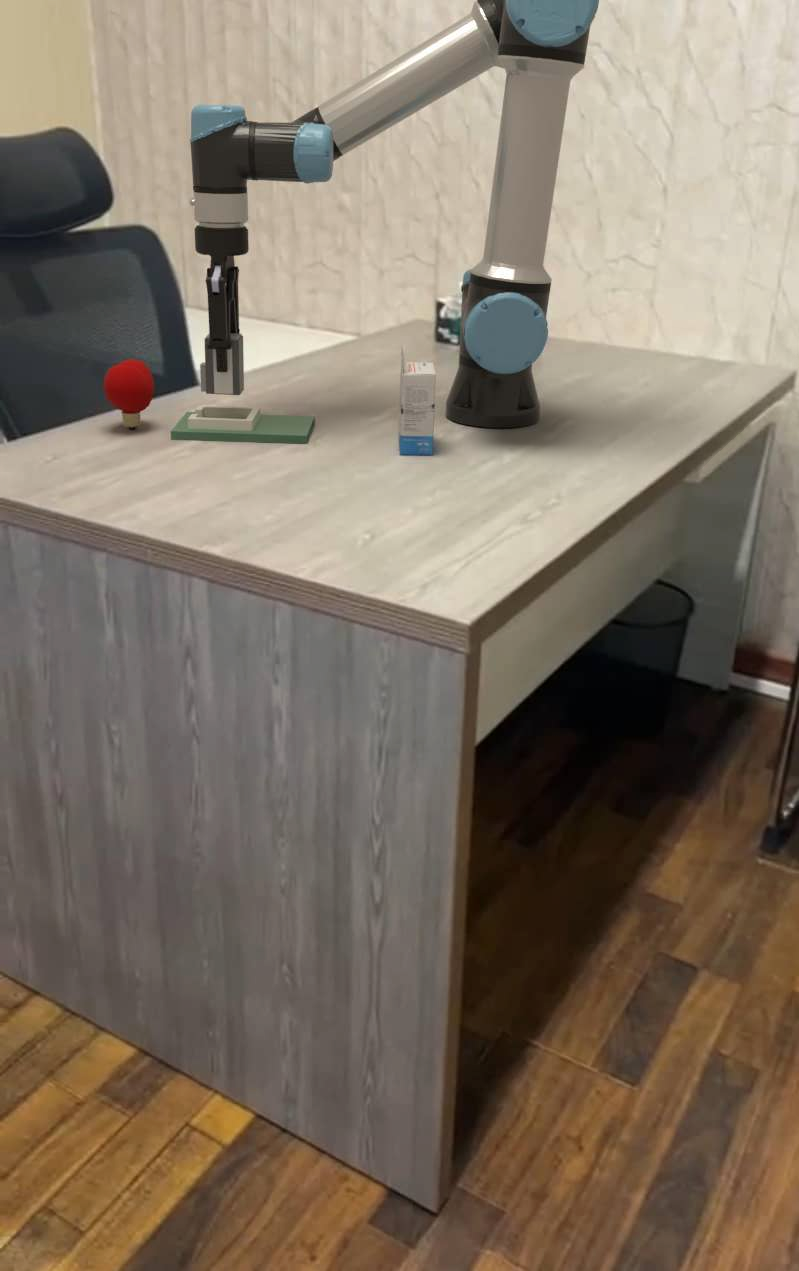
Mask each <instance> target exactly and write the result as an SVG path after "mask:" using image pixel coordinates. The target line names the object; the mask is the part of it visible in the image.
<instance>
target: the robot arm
mask: <svg viewBox="0 0 799 1271" xmlns="http://www.w3.org/2000/svg"><path fill="white" fill-rule="evenodd" d="M599 3H600V0H476V1H475V2H473V6H472V9H471V12H470V13H469V14H467V15H466V16H464V17H462V18H461V19H459V20H458V21H455V23H453V24H451V25H449V26H448V27H446V28H444V29H443V30H441V31H440V32H438V33H436V34H435V35H433V36H432V37H430V38H428V39H426V40H425V41H423V42H422V43H420V44H418V45H417V46H415V47H414V48H412V49H410V50H408V51H407V52H405V53H404V54H402V55H399V57H397V58H396V59H394V60H392V61H390V62H389V63H387V64H385V65H384V66H382V67H380V68H378V70H375V71H374V72H372V73H371V74H369V75H367V76H365V77H364V78H362V79H361V80H359V81H357V82H356V83H354V84H353V85H351V86H349V87H347V88H346V89H344V90H342V91H341V92H339V93H338V94H336V95H334V96H333V97H331V98H330V99H328V100H326V101H325V102H322V103H321V104H320V105H318V106H317V107H315V108H313V109H312V110H309V111H308V112H307V113H305V114H303V115H301V116H300V117H298V118H297V119H295V120H293V121H291V122H258V121H252V120H248V118H247V116H246V111H245V108H244V106H242V105H231V104H230V105H225V104H224V105H223V104H196V105H195V106H194V107H193V108H192V109H191V112H190V139H189V143H190V154H191V172H192V173H191V174H192V175H191V176H192V191H193V198H192V197H191V198H190V199H189V201H188V202H189V205H190V206H193V207H194V208H193V211H194V212H193V213H194V215H193V216H194V217H193V218H194V221H195V222H197V223H199V224H197V225H196V226H195V227H194V242H195V243H194V246H195V252H196V253H198V254H199V255H203V256H209V257H210V266H209V267H207V268H206V278H205V283H206V290H207V291H206V293H207V310H208V313H207V314H208V331H209V332H208V334H209V336H210V341H209V344H210V345H207V349H213V368H214V393H216V394H215V395H224V394H233V361H232V349H230V347H231V344H230V333H238V334H240V333H241V331H240V330H241V329H240V314H239V313H240V310H239V308H240V307H239V273H240V268H239V266H237V265H236V266H235V257H236V256H237V257H238V256H244V255H247V254H248V253H249V251H250V250H249V248H250V246H249V229H248V227H247V226H245V224H246V223H248V222H249V203H248V202H249V199H248V198H249V196H248V185H247V184H248V181H267V182H268V181H269V182H270V181H271V182H287V183H289V182H291V183H303V184H306V185H307V184H311V183H312V184H313V183H326V182H329V181H330V180H331V179H332V177H333V170H334V162H335V161H336V160H338V159H340V158H341V157H343V156H344V155H346V154H347V153H349V152H351V151H352V150H354V149H356V148H357V147H360V146H361V145H363V144H365V143H367V142H368V141H370V140H372V139H373V138H375V137H376V136H378V135H381V134H382V133H383V132H384V131H386V130H389V129H390V128H392V127H393V126H395V125H397V124H399V123H400V122H402V121H403V120H405V119H407V118H409V117H411V116H413V115H414V114H416V113H417V112H419V111H420V110H421V111H422V109H425V107H428V106H430V104H431V105H432V104H433V103H434V102H436V101H438V100H439V99H441V98H443V97H445V96H446V95H448V94H449V93H451V92H453V91H455V90H456V89H458V88H459V87H461V86H463V85H465V84H467V83H468V82H470V81H471V80H473V79H475V78H476V77H478V76H480V75H482V74H483V73H485V72H487V71H489V70H490V69H491V68H494V67H497V68H500V69H504V70H505V74H506V77H505V85H504V91H503V100H502V106H501V114H500V115H501V116H500V121H499V122H500V123H499V132H498V138H497V147H496V155H495V161H494V162H495V163H494V170H493V177H492V187H491V195H490V200H489V201H490V203H489V210H488V218H487V226H486V233H485V242H484V247H483V248H484V250H483V257H482V259H481V260H480V262H478V263H477V264H476V265H475V266H473V267H472V268H471V269H468V270H466V271H465V272H464V274H463V276H462V284H461V286H460V291H461V306H460V307H461V311H460V328H459V329H460V332H459V333H460V334H459V357H458V368H457V372H456V374H455V377H454V380H453V382H452V384H451V387H450V390H449V393H448V396H447V398H446V401H445V402H446V403H445V416H446V417H448V418H447V419H449V420H451V421H453V422H456V423H458V424H461V425H466V426H473V427H479V428H480V427H481V428H493V429H494V428H497V429H498V428H500V429H506V428H509V429H510V428H520V427H526V426H530V425H533V424H535V423H537V422H539V420H540V413H541V412H540V410H541V405H540V400H539V397H538V392H537V391H538V390H537V388H536V384H535V379H534V375H533V364H534V363H535V362H536V361H537V360H538V359H539V357H540V356H541V355H542V354H543V351H544V348H545V346H546V344H547V340H548V337H549V329H548V328H549V327H548V323H549V322H548V321H547V313H548V309H549V308H548V307H549V300H550V294H551V287H552V282H553V281H552V277H551V276H550V275H549V273H548V271H547V270H546V268H545V266H544V262H545V256H546V247H547V241H548V236H549V234H548V233H549V226H550V221H551V214H552V208H553V207H552V206H553V201H554V195H555V194H554V193H555V186H556V180H557V174H558V173H557V172H558V167H559V161H560V155H561V154H560V152H561V146H562V139H563V135H564V134H563V133H564V126H565V120H566V113H567V107H568V106H567V105H568V98H569V92H570V85H571V81H572V79H573V78H574V77H575V76H576V75H578V73H579V72H581V71H582V70H583V69H584V68H585V61H586V55H587V50H588V44H589V37H590V30H591V25H592V23H593V21H594V19H595V18H596V14H597V12H598V8H599ZM217 338H218V339H217Z"/></svg>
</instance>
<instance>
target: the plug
mask: <svg viewBox="0 0 799 1271" xmlns="http://www.w3.org/2000/svg"><path fill="white" fill-rule="evenodd" d="M217 339H218V338H217ZM209 341H210V336H209V333H208V334H207V335H206V336H205V338H204V362H201V363H200V366H199V370H200V374H199V376H200V392H202V393H203V392H205V393H206V394H207V395H210V394H211V395H217V394H216V393H214V368H213V349H207V345H210V344H209ZM230 344H231V347H230V349H232V361H233V394H223V395H226V396H227V395H231V396H240V395H241V394H242V393H243V391H244V390H245V376H244V374H245V369H244V368H245V367H244V366H245V364H244V358H245V357H244V335H243V334H242V333H239V334H238V333H230Z"/></svg>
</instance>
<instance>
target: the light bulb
mask: <svg viewBox="0 0 799 1271" xmlns="http://www.w3.org/2000/svg"><path fill="white" fill-rule="evenodd" d="M103 391H104V395H105V397H106V400H107V401H108V403H109V404H111V405H112V406H113V407H114V408H116V409H117V410H119V411H121V415H122V416H121V417H122V418H121V419H122V425H123V426H125V428H127V429H129V430H132V431H133V430H135V429H137V427H139V426H140V425H141V421H142V420H141V412H143V411H144V410H146V409H147V408H149V406H150V404H151V402H152V399H153V397H154V391H155V380H154V376H153V374H152V372H151V370H150V368H149V367H148V366H147V365H146V364H145V362H143V361H141V360H138V359H127V360H126V359H125V360H123V361H121V362H120V363H119V364H115V365H113V366H111V367H110V368H109V369H108V371H107V372H106V374H105V377H104V380H103Z"/></svg>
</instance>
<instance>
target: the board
mask: <svg viewBox="0 0 799 1271" xmlns="http://www.w3.org/2000/svg"><path fill="white" fill-rule="evenodd" d="M315 425H316V416H315V415H295V414H293V415H292V414H264V413H261V407H260V406H258V407H257V406H234V405H233V406H231V405H229V406H227V405H204V404H203V405H198V406H197V407H196V408H195V409H194V411H186V413H184V415H183V416H182V417H181V419H179V421H178V422H177V423H176V425H175V426H174V427H173V428H172V429H171V430H170V440H183V441H212V442H213V441H214V442H215V441H216V442H218V441H219V442H246V443H268V444H269V443H273V444H299V445H307V444H308V442H309V440H310V436H311V433H313V430H314V427H315Z"/></svg>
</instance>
